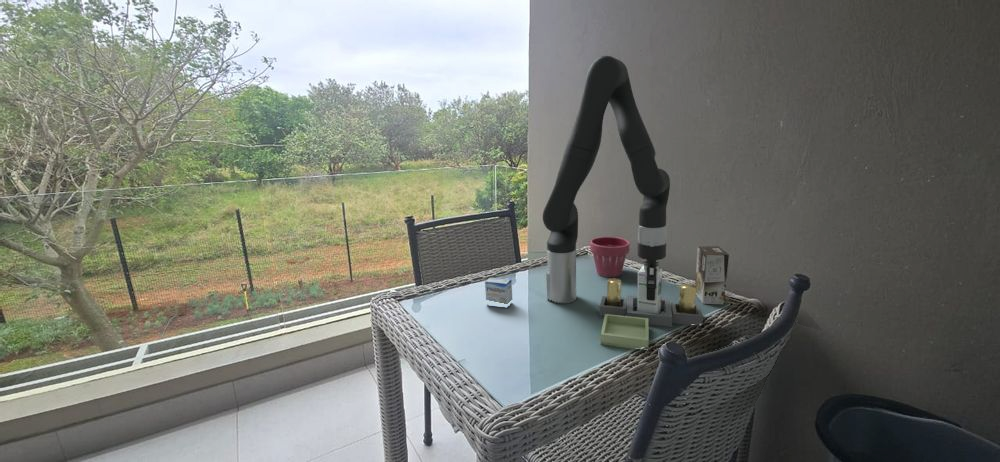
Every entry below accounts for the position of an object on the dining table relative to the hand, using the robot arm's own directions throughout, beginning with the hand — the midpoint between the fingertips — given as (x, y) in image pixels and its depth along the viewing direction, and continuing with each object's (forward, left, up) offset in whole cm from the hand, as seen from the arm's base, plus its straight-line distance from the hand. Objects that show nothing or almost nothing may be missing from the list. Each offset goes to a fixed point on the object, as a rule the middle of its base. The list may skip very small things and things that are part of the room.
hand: (650, 293), depth 111 cm
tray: (-6, -14, -7) cm, 17 cm away
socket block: (0, 0, -7) cm, 7 cm away
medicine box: (-46, -3, -7) cm, 47 cm away
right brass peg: (+10, 0, -7) cm, 12 cm away
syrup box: (0, 0, -7) cm, 7 cm away
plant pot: (-14, +32, -7) cm, 36 cm away
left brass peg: (-10, 0, -7) cm, 12 cm away
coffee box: (+18, +16, -7) cm, 25 cm away
